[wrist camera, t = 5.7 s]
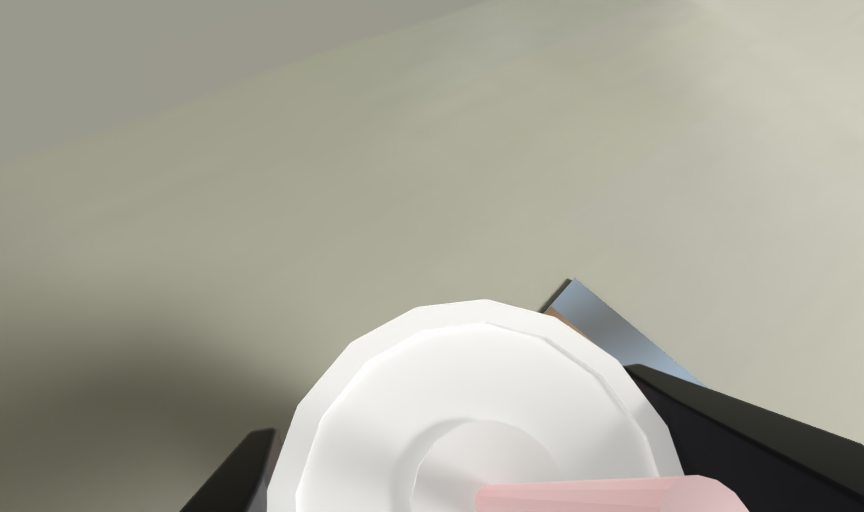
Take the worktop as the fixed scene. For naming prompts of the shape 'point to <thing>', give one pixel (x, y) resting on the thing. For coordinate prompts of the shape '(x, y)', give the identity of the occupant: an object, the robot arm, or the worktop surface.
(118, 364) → the worktop surface
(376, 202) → the worktop surface
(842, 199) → the worktop surface
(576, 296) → the blueprint plinth
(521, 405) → the beverage cup
